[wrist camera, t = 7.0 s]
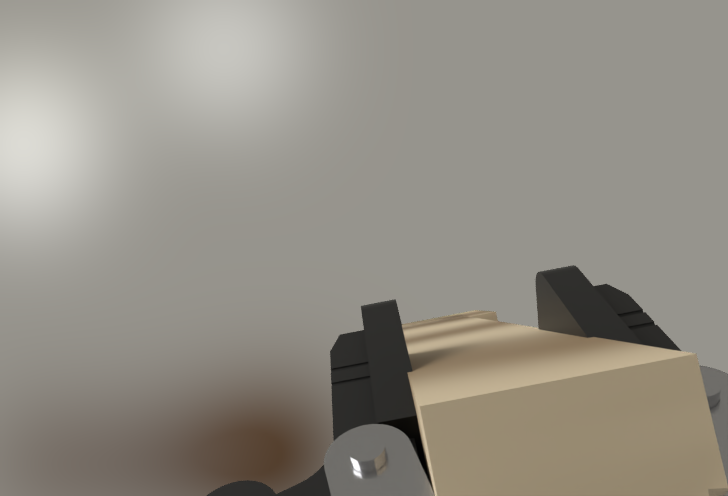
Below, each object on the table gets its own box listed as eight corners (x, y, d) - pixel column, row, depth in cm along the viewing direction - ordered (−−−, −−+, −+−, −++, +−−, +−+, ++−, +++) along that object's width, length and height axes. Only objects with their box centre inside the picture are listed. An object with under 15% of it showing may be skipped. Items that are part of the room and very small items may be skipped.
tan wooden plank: (379, 384, 28) (369, 330, 29) (487, 364, 28) (475, 310, 28) (372, 665, 6) (327, 424, 7) (850, 577, 6) (789, 335, 7)
